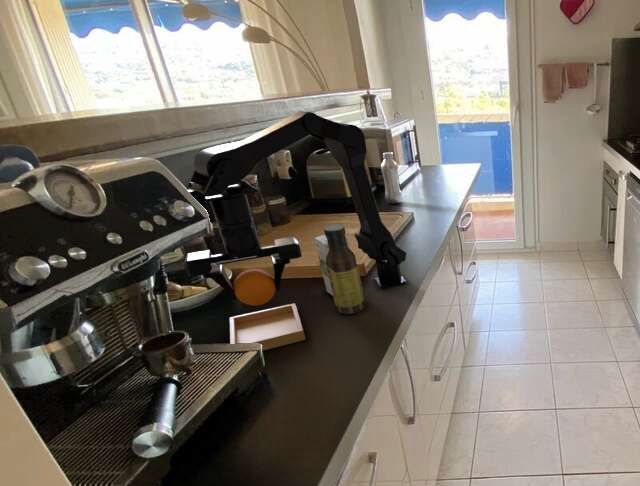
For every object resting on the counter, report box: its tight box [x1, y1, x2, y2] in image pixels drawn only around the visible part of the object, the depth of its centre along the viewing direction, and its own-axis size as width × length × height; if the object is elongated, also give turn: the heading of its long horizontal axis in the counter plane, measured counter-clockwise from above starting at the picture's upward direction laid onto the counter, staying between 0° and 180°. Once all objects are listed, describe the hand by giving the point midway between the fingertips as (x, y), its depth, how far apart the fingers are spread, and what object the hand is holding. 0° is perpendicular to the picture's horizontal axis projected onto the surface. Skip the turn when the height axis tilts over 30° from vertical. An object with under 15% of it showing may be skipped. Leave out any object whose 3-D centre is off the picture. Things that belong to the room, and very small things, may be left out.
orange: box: [232, 268, 277, 306], centre depth 89 cm, size 7×7×7 cm
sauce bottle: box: [323, 224, 365, 315], centre depth 98 cm, size 6×6×20 cm
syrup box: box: [313, 234, 350, 297], centre depth 107 cm, size 6×6×14 cm
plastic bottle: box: [380, 151, 403, 204], centre depth 180 cm, size 6×7×20 cm
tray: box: [229, 302, 306, 351], centre depth 93 cm, size 14×13×2 cm
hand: (257, 295), depth 89 cm, fingers closed on orange, 7 cm apart
